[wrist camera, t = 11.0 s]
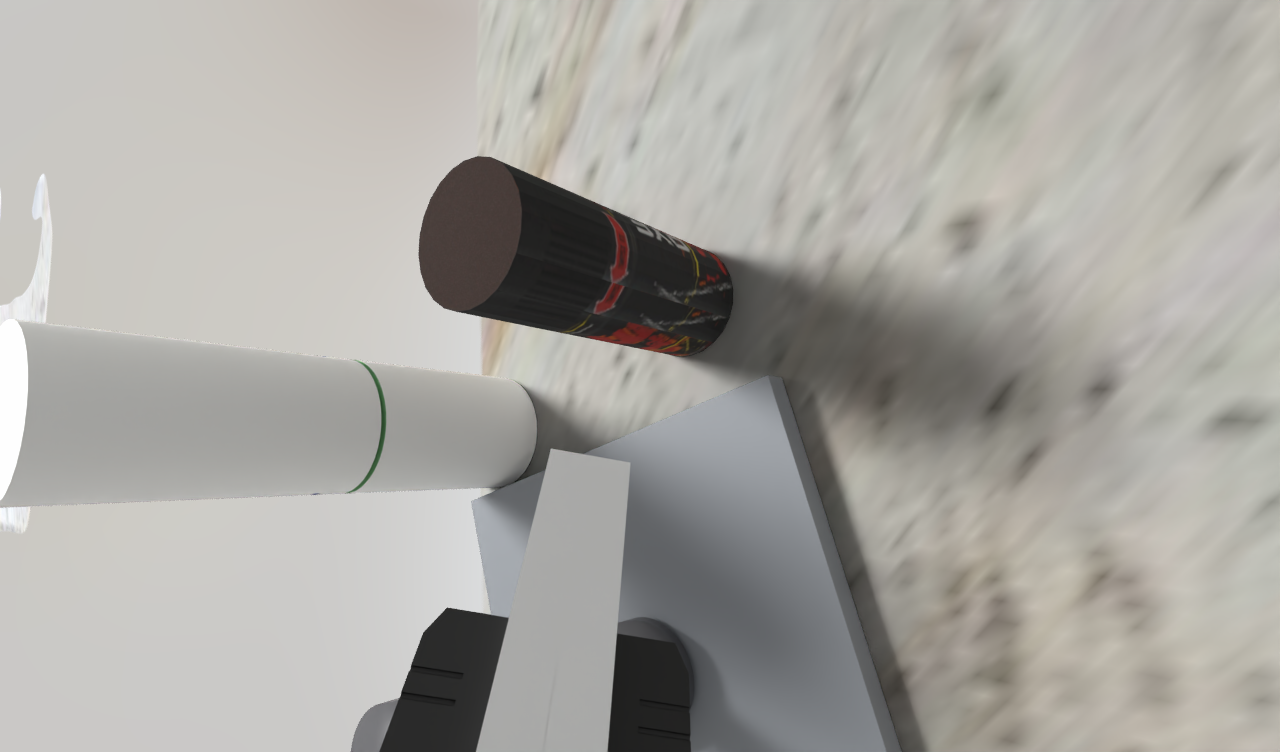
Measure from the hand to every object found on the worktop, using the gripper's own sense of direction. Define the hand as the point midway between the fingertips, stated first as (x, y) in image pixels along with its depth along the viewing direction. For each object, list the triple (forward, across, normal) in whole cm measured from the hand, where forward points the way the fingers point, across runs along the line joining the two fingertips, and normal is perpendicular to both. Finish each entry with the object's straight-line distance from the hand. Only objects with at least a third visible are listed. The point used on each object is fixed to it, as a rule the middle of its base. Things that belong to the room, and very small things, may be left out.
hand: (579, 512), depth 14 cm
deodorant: (+26, +4, -6) cm, 27 cm away
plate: (+15, +6, -22) cm, 27 cm away
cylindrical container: (+28, -6, -19) cm, 34 cm away
